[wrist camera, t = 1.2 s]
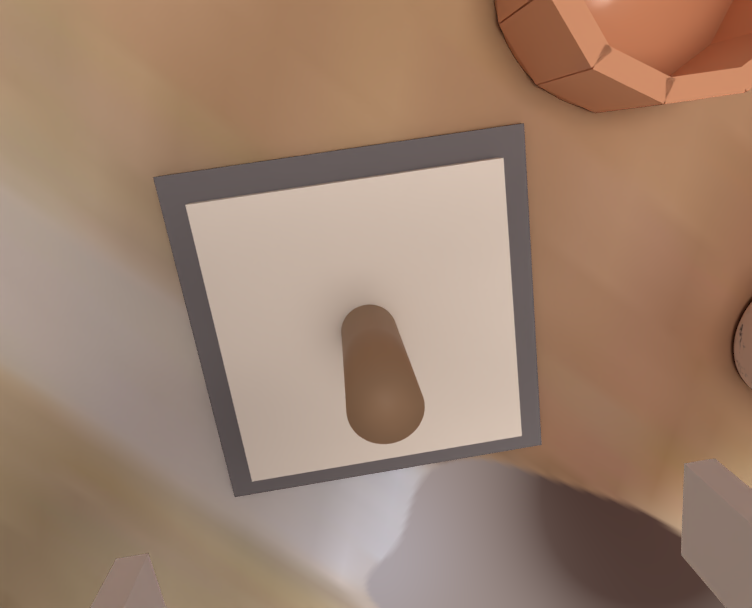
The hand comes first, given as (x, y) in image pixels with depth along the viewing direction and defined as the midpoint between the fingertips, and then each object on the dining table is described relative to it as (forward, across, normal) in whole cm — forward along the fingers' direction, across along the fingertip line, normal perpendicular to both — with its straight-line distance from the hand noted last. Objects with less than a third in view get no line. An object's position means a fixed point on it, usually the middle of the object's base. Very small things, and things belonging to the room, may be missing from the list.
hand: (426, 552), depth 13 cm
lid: (+18, 0, 0) cm, 18 cm away
